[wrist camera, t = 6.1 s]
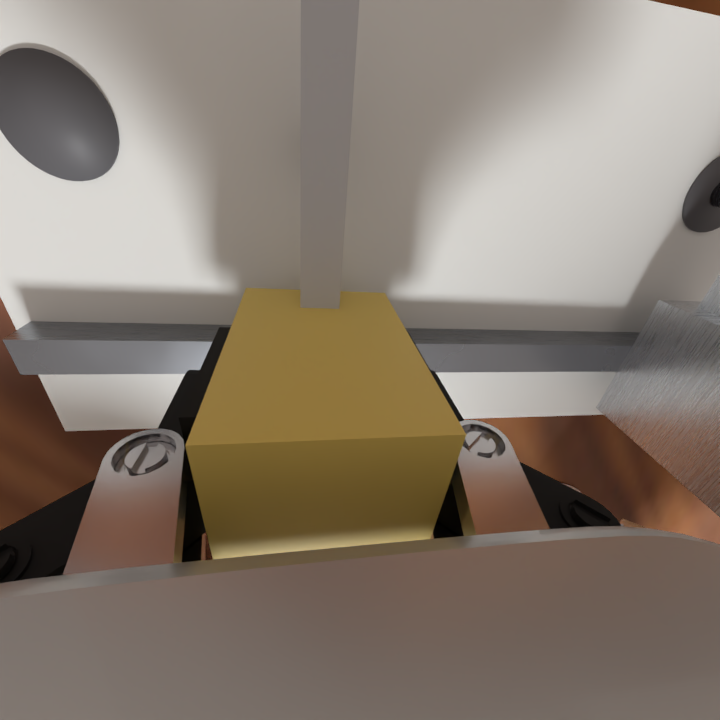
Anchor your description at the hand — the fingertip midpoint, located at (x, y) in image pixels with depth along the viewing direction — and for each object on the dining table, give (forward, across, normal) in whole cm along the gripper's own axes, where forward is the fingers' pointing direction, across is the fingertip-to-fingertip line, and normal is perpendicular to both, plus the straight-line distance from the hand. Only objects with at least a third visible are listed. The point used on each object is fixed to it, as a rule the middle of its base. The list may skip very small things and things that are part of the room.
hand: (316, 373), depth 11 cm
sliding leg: (+2, 0, -3) cm, 4 cm away
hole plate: (+3, -4, -3) cm, 6 cm away
